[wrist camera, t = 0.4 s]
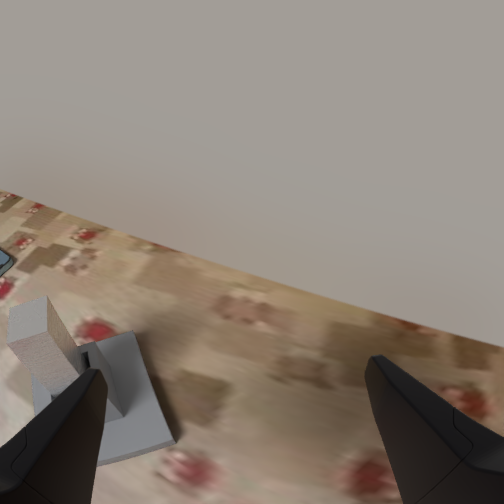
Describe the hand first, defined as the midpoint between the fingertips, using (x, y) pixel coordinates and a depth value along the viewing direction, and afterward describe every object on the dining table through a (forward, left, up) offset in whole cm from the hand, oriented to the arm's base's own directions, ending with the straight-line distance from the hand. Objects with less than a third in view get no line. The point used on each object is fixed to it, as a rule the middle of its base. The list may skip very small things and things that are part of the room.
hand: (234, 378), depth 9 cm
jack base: (+3, +14, -16) cm, 22 cm away
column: (+4, +14, -15) cm, 21 cm away
